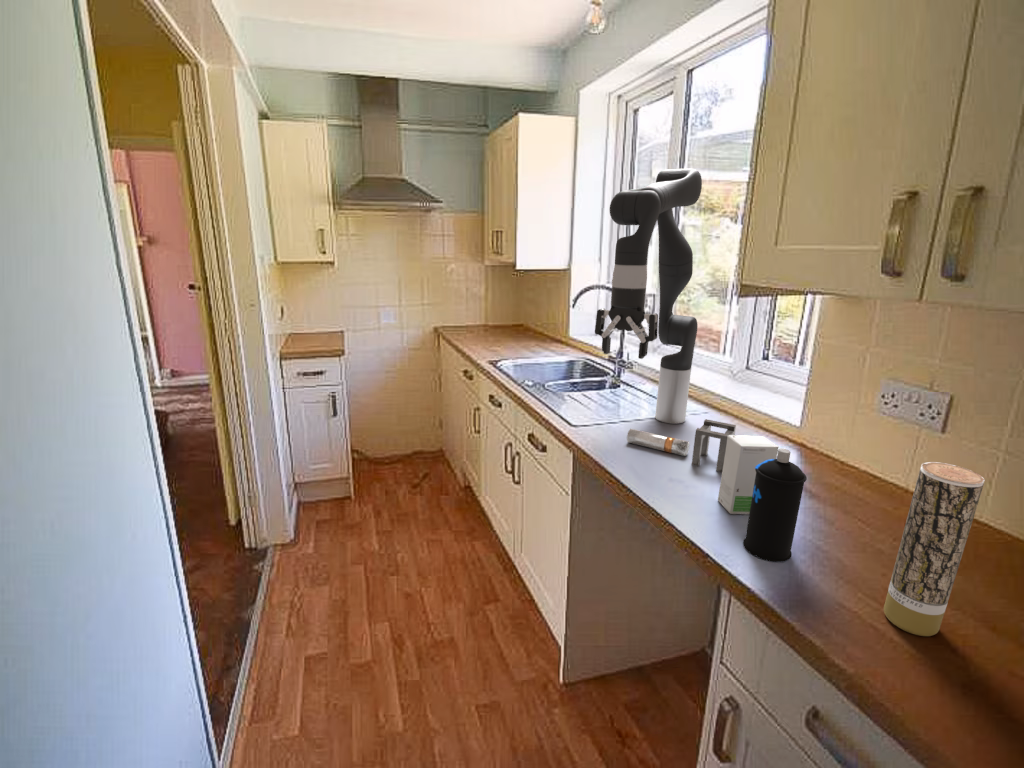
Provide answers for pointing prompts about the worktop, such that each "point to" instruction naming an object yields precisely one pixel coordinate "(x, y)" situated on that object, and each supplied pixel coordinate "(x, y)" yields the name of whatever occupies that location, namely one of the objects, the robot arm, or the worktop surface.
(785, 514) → the aerosol can
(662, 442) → the silver cosmetic tube
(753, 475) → the skincare box
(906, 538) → the paper tube
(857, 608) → the worktop surface
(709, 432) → the frame
